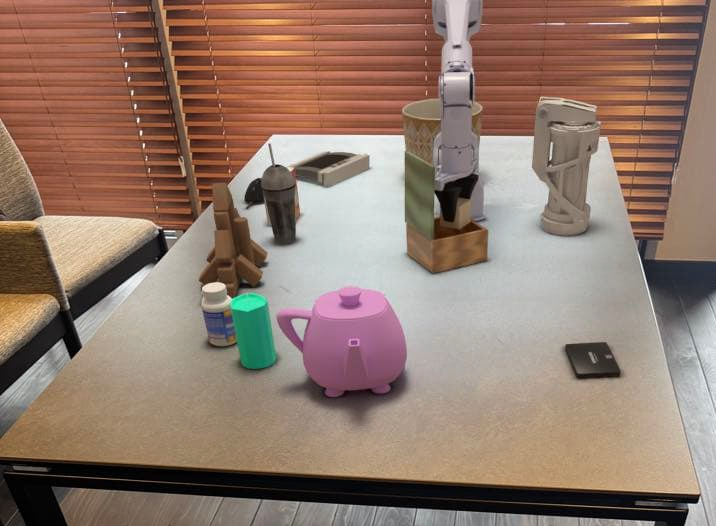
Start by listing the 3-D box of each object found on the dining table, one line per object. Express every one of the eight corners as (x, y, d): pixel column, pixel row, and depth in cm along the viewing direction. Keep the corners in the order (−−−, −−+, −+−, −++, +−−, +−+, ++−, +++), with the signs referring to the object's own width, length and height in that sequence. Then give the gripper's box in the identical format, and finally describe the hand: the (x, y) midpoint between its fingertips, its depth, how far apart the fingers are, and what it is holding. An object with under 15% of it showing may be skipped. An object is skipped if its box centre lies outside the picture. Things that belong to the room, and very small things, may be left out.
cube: (451, 218, 162) (451, 195, 159) (470, 222, 160) (471, 199, 157) (440, 225, 159) (440, 202, 156) (459, 229, 157) (459, 206, 154)
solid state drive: (605, 345, 133) (606, 341, 133) (620, 375, 126) (621, 371, 125) (564, 347, 133) (565, 343, 133) (576, 377, 126) (577, 374, 125)
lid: (407, 150, 152) (404, 151, 152) (435, 166, 144) (432, 167, 144) (407, 221, 161) (404, 221, 161) (433, 240, 153) (430, 240, 153)
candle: (242, 352, 136) (229, 285, 128) (277, 350, 136) (266, 283, 128) (239, 370, 131) (226, 302, 123) (275, 367, 132) (264, 299, 124)
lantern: (589, 219, 176) (604, 94, 160) (586, 237, 169) (602, 107, 152) (531, 216, 179) (540, 93, 162) (526, 234, 171) (534, 106, 155)
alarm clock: (327, 173, 196) (278, 157, 203) (327, 192, 199) (279, 176, 206) (369, 154, 206) (321, 140, 213) (369, 173, 210) (322, 158, 216)
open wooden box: (459, 241, 169) (460, 211, 165) (487, 260, 161) (488, 229, 157) (406, 253, 165) (405, 223, 161) (432, 273, 158) (432, 242, 153)
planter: (466, 164, 208) (467, 94, 197) (491, 187, 194) (494, 113, 183) (395, 173, 205) (392, 103, 194) (416, 197, 191) (414, 122, 180)
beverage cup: (308, 236, 174) (297, 138, 161) (291, 249, 169) (278, 148, 156) (280, 232, 177) (266, 135, 163) (262, 244, 172) (247, 145, 159)
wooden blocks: (213, 253, 169) (196, 165, 157) (271, 250, 169) (258, 162, 157) (195, 305, 150) (173, 209, 138) (259, 302, 150) (244, 206, 139)
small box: (290, 227, 179) (284, 178, 172) (267, 226, 180) (260, 177, 173) (301, 214, 185) (295, 166, 178) (278, 213, 186) (272, 165, 179)
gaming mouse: (234, 208, 189) (231, 190, 187) (259, 187, 200) (256, 171, 197) (259, 209, 188) (256, 192, 185) (282, 189, 199) (280, 172, 196)
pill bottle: (235, 347, 137) (224, 294, 131) (205, 346, 138) (193, 293, 131) (243, 332, 141) (234, 280, 135) (214, 332, 142) (203, 279, 135)
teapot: (284, 424, 119) (269, 332, 109) (287, 358, 134) (275, 272, 124) (414, 414, 120) (411, 322, 109) (403, 350, 134) (400, 264, 124)
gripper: (457, 131, 156) (456, 202, 165) (417, 151, 147) (419, 225, 156) (488, 136, 153) (486, 208, 162) (450, 156, 144) (450, 231, 153)
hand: (455, 217), depth 159 cm, fingers closed on cube, 4 cm apart
